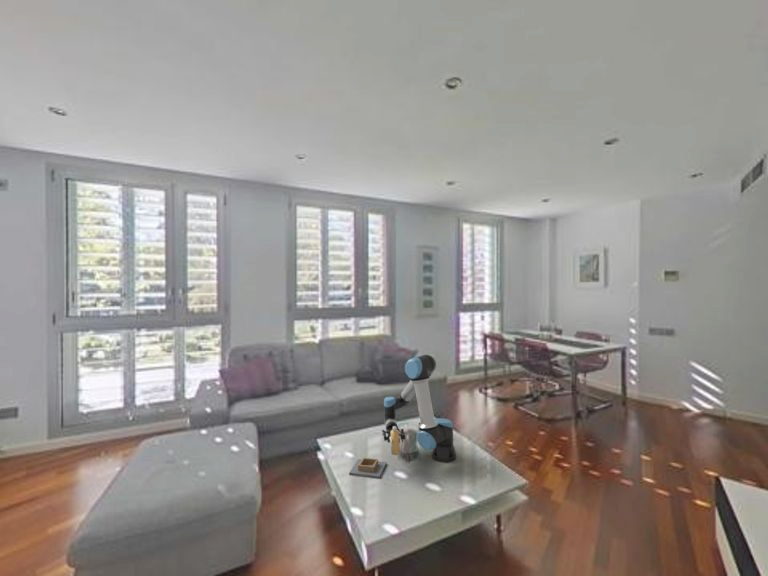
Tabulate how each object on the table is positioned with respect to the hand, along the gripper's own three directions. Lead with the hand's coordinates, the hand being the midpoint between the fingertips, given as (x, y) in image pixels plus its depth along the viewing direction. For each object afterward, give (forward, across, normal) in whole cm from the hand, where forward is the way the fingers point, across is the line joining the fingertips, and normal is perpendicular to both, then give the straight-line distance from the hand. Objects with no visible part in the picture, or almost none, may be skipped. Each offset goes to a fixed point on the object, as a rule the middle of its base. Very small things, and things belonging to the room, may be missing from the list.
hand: (396, 443), depth 207 cm
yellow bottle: (-5, 0, -8) cm, 10 cm away
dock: (-8, +16, -18) cm, 25 cm away
